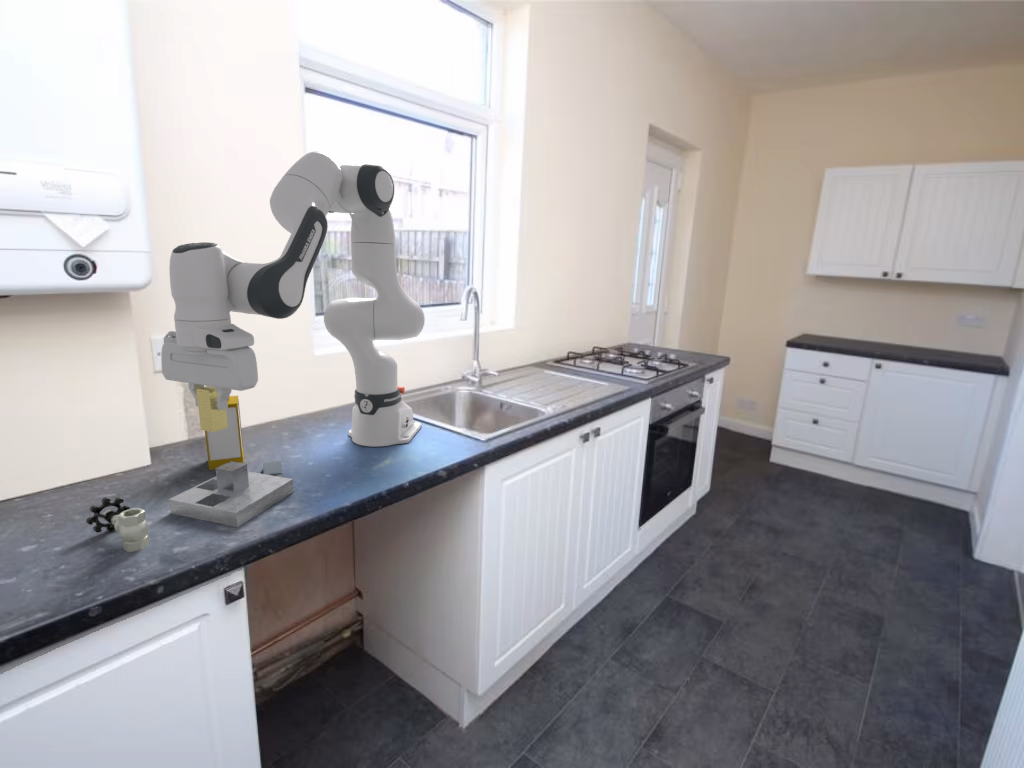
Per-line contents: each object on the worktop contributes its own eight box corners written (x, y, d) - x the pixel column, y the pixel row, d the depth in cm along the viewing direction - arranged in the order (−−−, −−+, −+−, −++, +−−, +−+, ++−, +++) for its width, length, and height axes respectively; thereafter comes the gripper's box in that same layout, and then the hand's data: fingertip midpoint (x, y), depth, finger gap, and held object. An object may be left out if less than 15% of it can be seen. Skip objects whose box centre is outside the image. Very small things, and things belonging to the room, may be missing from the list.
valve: (163, 542, 94) (130, 522, 100) (158, 508, 93) (125, 490, 99) (120, 559, 89) (88, 538, 95) (115, 524, 87) (82, 504, 93)
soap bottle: (244, 447, 138) (235, 359, 132) (243, 465, 127) (234, 370, 121) (212, 451, 135) (202, 361, 129) (209, 470, 124) (198, 372, 118)
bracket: (281, 468, 128) (281, 460, 127) (283, 485, 118) (282, 477, 118) (263, 470, 126) (263, 462, 125) (263, 488, 117) (262, 480, 116)
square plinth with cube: (233, 480, 119) (229, 447, 117) (293, 491, 115) (291, 457, 113) (170, 513, 104) (165, 475, 102) (237, 527, 100) (233, 488, 98)
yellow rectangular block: (200, 429, 99) (196, 388, 97) (215, 425, 102) (211, 384, 100) (213, 432, 98) (209, 390, 96) (228, 427, 101) (224, 386, 99)
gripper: (147, 332, 97) (156, 404, 100) (232, 341, 90) (238, 419, 93) (179, 328, 102) (186, 397, 105) (261, 336, 95) (266, 410, 99)
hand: (212, 407), depth 99 cm, fingers closed on yellow rectangular block, 3 cm apart
